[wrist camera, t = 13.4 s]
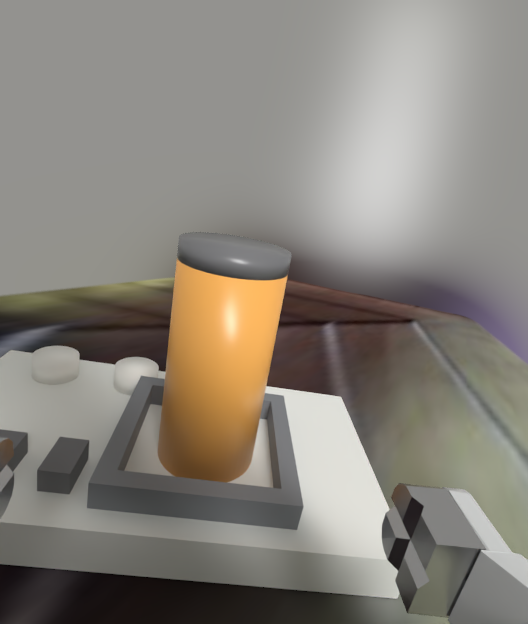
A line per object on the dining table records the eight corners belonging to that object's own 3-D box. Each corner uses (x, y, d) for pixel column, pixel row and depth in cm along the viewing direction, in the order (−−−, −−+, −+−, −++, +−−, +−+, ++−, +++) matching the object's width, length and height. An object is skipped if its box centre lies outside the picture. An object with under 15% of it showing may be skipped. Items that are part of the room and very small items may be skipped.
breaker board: (-178, 548, 14) (-194, 474, 13) (11, 378, 25) (10, 331, 24) (397, 598, 16) (421, 539, 15) (333, 422, 27) (345, 381, 26)
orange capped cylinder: (148, 479, 17) (170, 245, 14) (166, 417, 21) (186, 227, 18) (253, 489, 17) (299, 265, 14) (250, 426, 22) (285, 243, 18)
